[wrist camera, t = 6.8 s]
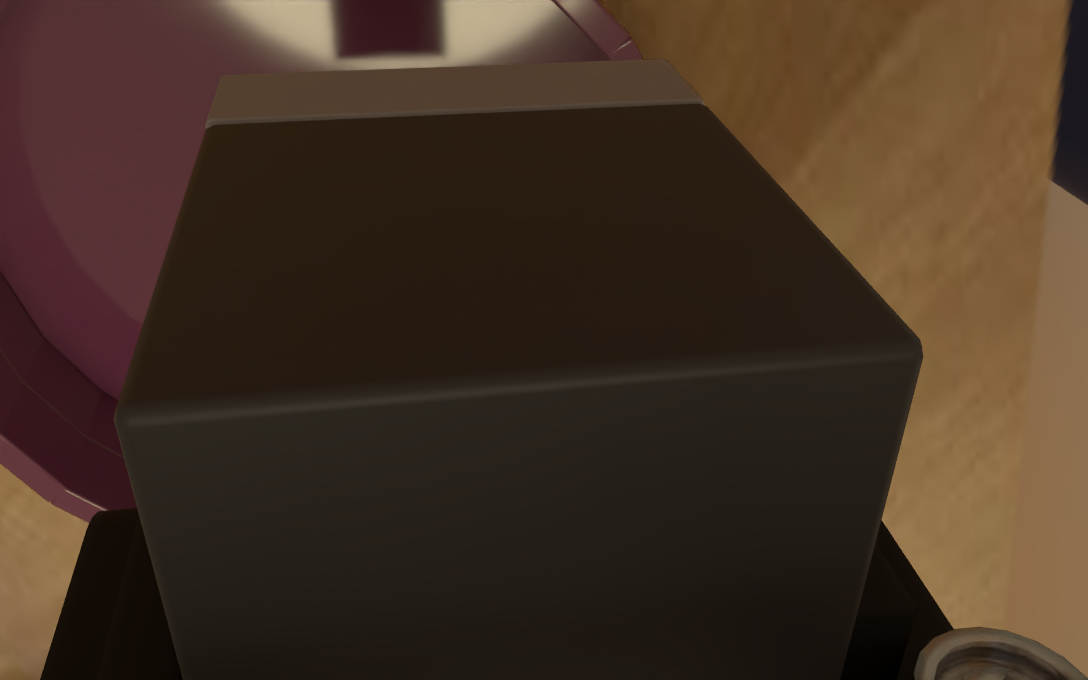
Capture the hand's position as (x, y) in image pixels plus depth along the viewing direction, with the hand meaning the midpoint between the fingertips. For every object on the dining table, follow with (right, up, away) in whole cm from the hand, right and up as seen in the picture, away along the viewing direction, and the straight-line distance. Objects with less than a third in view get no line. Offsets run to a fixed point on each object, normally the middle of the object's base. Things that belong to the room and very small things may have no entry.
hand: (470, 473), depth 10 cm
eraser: (0, 0, +1) cm, 1 cm away
